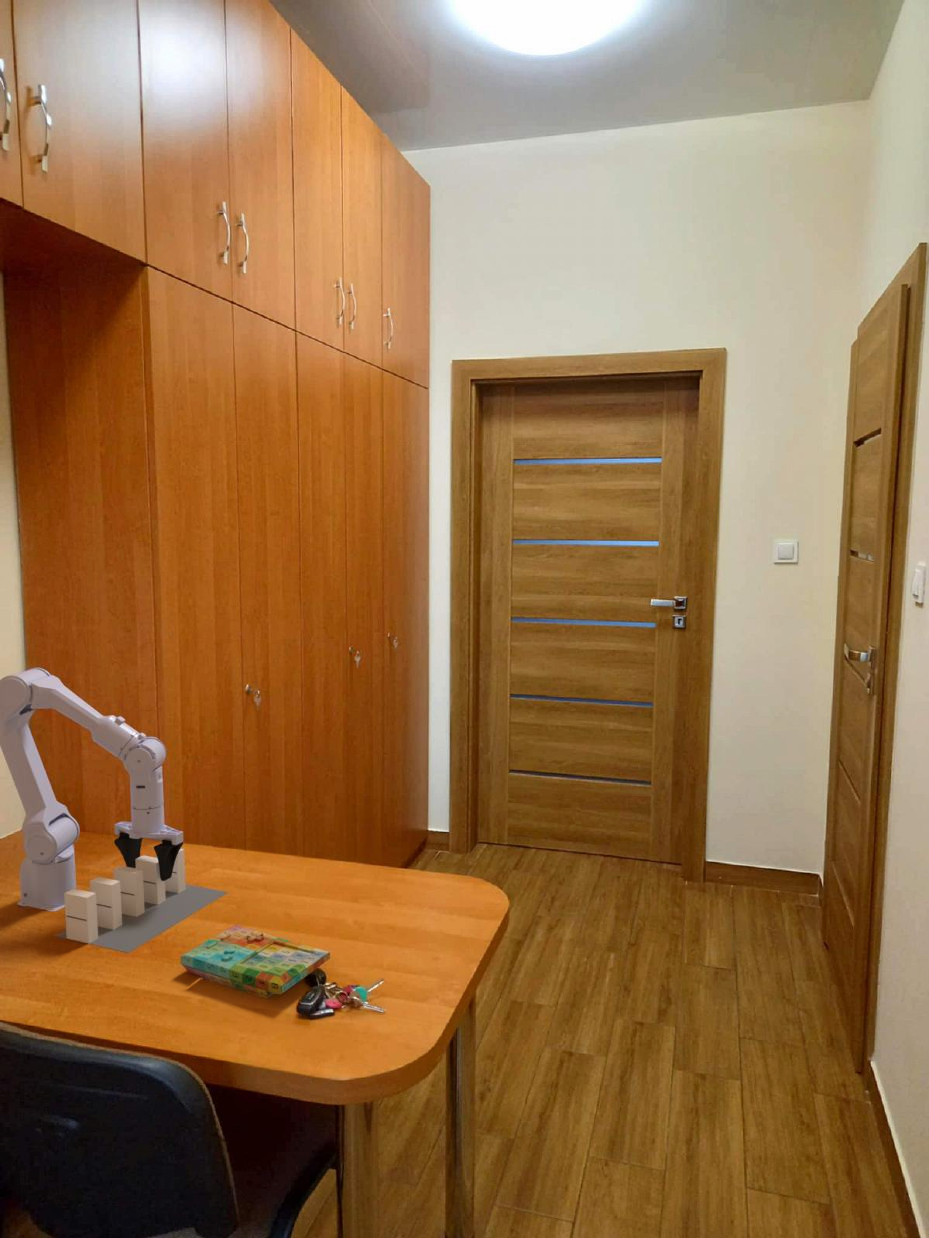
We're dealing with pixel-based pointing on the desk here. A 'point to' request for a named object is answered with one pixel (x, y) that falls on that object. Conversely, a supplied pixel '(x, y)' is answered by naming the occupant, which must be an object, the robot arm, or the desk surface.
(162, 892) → the domino
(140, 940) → the mat
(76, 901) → the domino
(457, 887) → the desk surface
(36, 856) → the robot arm
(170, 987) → the desk surface
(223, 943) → the puzzle game
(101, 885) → the domino
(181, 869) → the domino
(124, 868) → the domino
